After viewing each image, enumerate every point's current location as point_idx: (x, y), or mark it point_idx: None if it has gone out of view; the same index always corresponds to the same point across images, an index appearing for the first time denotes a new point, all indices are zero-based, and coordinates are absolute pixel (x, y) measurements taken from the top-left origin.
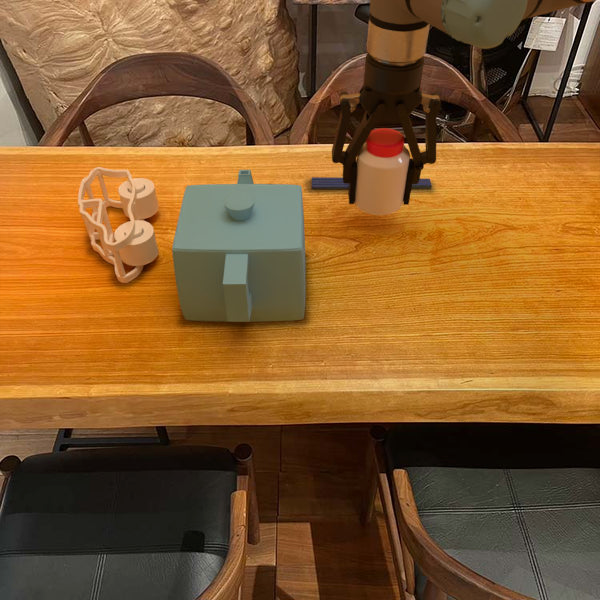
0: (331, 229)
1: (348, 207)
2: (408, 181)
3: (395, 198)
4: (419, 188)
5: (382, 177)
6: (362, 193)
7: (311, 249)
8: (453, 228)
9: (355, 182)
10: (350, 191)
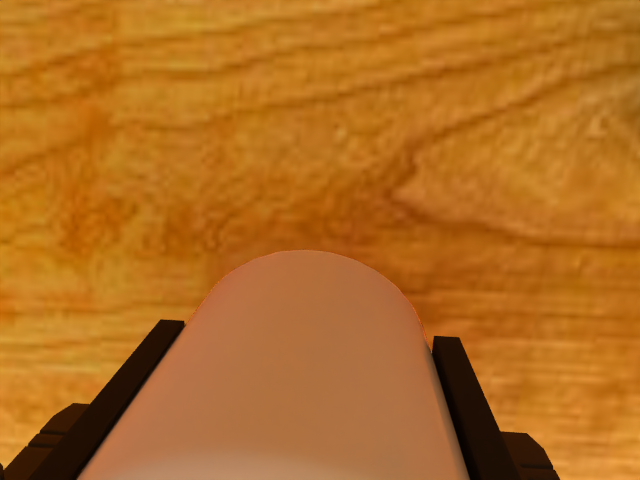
0: (495, 278)
1: None
2: (114, 407)
3: (216, 304)
4: None
5: (294, 387)
6: (416, 346)
7: (603, 159)
8: (23, 265)
9: (465, 424)
10: (475, 383)
